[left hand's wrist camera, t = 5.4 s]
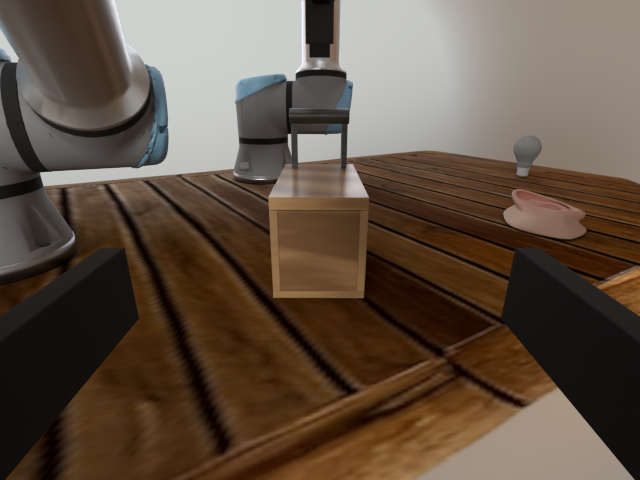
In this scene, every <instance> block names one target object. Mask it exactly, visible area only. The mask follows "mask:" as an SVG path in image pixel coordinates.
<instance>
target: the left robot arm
mask: <svg viewBox="0 0 640 480" xmlns="http://www.w3.org/2000/svg"><path fill="white" fill-rule="evenodd" d="M0 29H1V31H2V32H3V34H4V35H5V37H6V38H7V40H8V42H9V43H10V45H11V46H12V48H13V49H14V51H15V53H16V54H17V56H18V57H19V60H18V63H11V58H10V57H9V56H8V55H7V53H6V52H5V51H4V50H3V49H1V48H0V284H2V283H6V282H10V281H14V280H18V279H21V278H25V277H28V276H31V275H34V274H37V273H40V272H42V271H45V270H48V269H50V268H52V267H54V266H56V265H58V264H60V263H62V262H64V261H65V260H67V259H68V258H70V257H71V256H72V255H73V254H74V253H75V252H76V250H77V244H76V240H75V236H74V233H73V231H72V230H71V229H70V227H69V226H68V224H67V223H66V222H65V220H64V219H63V217H62V216H61V214H60V213H59V212H58V210H57V209H56V207H55V206H54V204H53V203H52V202H51V200H50V199H49V197H48V196H47V194H46V192H45V190H44V186H43V183H42V180H41V176H40V172H52V171H64V170H83V169H101V168H120V167H132V168H139V167H142V166H147V165H156V164H159V163H161V162H162V161H163V160H164V159H165V158H166V155H167V151H168V129H167V126H168V113H167V102H166V93H165V88H164V82H163V78H162V75H161V73H160V71H159V70H157V69H156V68H155V67H150V66H148V65H144V62H143V61H142V59H141V58H140V56H139V55H138V54H137V53H136V52H135V51H134V50H133V49H132V48H131V47H130V46H129V45H128V44H126V43H125V41H124V37H123V33H122V29H121V25H120V21H119V17H118V13H117V9H116V5H115V1H114V0H0ZM138 319H139V317H138V312H137V307H136V302H135V297H134V292H133V287H132V283H131V278H130V273H129V268H128V263H127V258H126V253H125V248H101V249H99V250H98V251H96V252H95V253H93V254H92V255H90V256H89V257H87V258H86V259H84V260H83V261H82V262H80V263H79V264H77V265H76V266H74V267H73V268H71V269H70V270H68V271H67V272H65V273H64V274H62V275H61V276H59V277H58V278H56V279H55V280H54V281H52V282H51V283H49V284H48V285H46V286H45V287H43V288H42V289H40V290H39V291H37V292H36V293H34V294H33V295H31V296H30V297H28V298H27V299H26V300H24V301H23V302H21V303H20V304H18V305H17V306H15V307H14V308H12V309H11V310H9V311H8V312H6V313H5V314H3V315H2V316H0V480H5V479H6V478H7V477H8V476H9V475H10V473H11V472H12V471H13V470H14V469H15V467H16V466H17V465H18V464H19V463H20V461H21V460H22V459H23V458H24V456H25V455H26V454H27V453H28V452H29V450H30V449H31V448H32V447H33V446H34V444H35V443H36V442H37V441H38V440H39V438H40V437H41V436H42V435H43V434H44V432H45V431H46V430H47V429H48V427H49V426H50V425H51V424H52V423H53V421H54V420H55V419H56V418H57V417H58V415H59V414H60V413H61V412H62V411H63V409H64V408H65V407H66V406H67V405H68V403H69V402H70V401H71V400H72V399H73V397H74V396H75V395H76V394H77V392H78V391H79V390H80V389H81V388H82V386H83V385H84V384H85V383H86V382H87V380H88V379H89V378H90V377H91V376H92V374H93V373H94V372H95V371H96V370H97V368H98V367H99V366H100V365H101V363H102V362H103V361H104V360H105V359H106V357H107V356H108V355H109V354H110V353H111V351H112V350H113V349H114V348H115V347H116V345H117V344H118V343H119V342H120V341H121V339H122V338H123V337H124V336H125V335H126V333H127V332H128V331H129V330H130V328H131V327H132V326H133V325H134V324H135V322H136V321H137V320H138ZM501 319H502V320H503V321H504V322H505V324H506V325H507V326H508V327H509V328H510V330H511V331H512V332H513V333H514V335H515V336H516V337H517V338H518V339H519V341H520V342H521V343H522V344H523V345H524V347H525V348H526V349H527V350H528V351H529V353H530V354H531V355H532V356H533V357H534V359H535V360H536V361H537V362H538V363H539V365H540V366H541V367H542V368H543V370H544V371H545V372H546V373H547V374H548V376H549V377H550V378H551V379H552V380H553V382H554V383H555V384H556V385H557V386H558V388H559V389H560V390H561V391H562V392H563V394H564V395H565V396H566V397H567V399H568V400H569V401H570V402H571V403H572V405H573V406H574V407H575V408H576V409H577V411H578V412H579V413H580V414H581V415H582V417H583V418H584V419H585V420H586V421H587V423H588V424H589V425H590V426H591V427H592V429H593V430H594V431H595V432H596V434H597V435H598V436H599V437H600V438H601V440H602V441H603V442H604V443H605V444H606V446H607V447H608V448H609V449H610V450H611V452H612V453H613V454H614V455H615V456H616V458H617V459H618V460H619V461H620V462H621V464H622V465H623V466H624V467H625V469H626V470H627V471H628V472H629V473H630V475H631V476H632V477H633V478H634V479H635V480H640V316H638V315H637V314H635V313H634V312H632V311H631V310H629V309H628V308H626V307H625V306H623V305H622V304H620V303H619V302H617V301H616V300H614V299H613V298H612V297H610V296H609V295H607V294H606V293H604V292H603V291H601V290H600V289H598V288H597V287H595V286H594V285H592V284H591V283H589V282H588V281H586V280H585V279H584V278H582V277H581V276H579V275H578V274H576V273H575V272H573V271H572V270H570V269H569V268H567V267H566V266H564V265H563V264H561V263H560V262H558V261H557V260H556V259H554V258H553V257H551V256H550V255H548V254H547V253H545V252H544V251H542V250H541V249H539V248H515V253H514V258H513V263H512V268H511V273H510V278H509V283H508V287H507V292H506V297H505V302H504V307H503V312H502V317H501Z"/></svg>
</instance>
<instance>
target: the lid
mask: <svg viewBox="0 0 640 480" xmlns="http://www.w3.org/2000/svg"><path fill="white" fill-rule="evenodd" d="M289 121H290V124H291V142H292V164H285V166H284V168H283V170H282V172H281V174H280V176H279V178H278V180H277V182H276V184H275V186H274V188H273V190H272V192H271V193H270V195H269V197H268V200H269V210H369V196H368V194H367V192H366V190H365V188H364V186H363V184H362V182H361V180H360V178H359V176H358V174H357V172H356V170H355V168H354V166H353V164H346V160H347V125H348V124H349V109H297V108H290V109H289ZM297 124H342V126H341V164H298V149H297V148H298V147H297Z"/></svg>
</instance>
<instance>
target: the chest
mask: <svg viewBox="0 0 640 480" xmlns="http://www.w3.org/2000/svg"><path fill="white" fill-rule="evenodd" d="M368 213H369V211H368V210H269V219H270V239H271V260H272V280H273V297H274V298H364V289H365V270H366V251H367V232H368Z"/></svg>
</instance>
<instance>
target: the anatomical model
mask: <svg viewBox="0 0 640 480" xmlns="http://www.w3.org/2000/svg"><path fill="white" fill-rule="evenodd" d="M512 199H513V201H514V203H515V204H514V205H513V206H511V207H510V208H508V209H506V210H505V211H504V214H503V215H504V219H505V221H506V222H507V223H508V224H509V225H510V226H512V227H514V228H517V229H519V230H522V231H526V232H530V233H534V234H538V235H542V236H547V237H552V238H558V239H574V238H577V237H580V236H582V235H583V234H585V233H586V229H585V228H584V227H583V226H582V225H581V224H580V223H579V221H580V220H581V219H583V218H584V217H585V212H584V211H582V210H579V209H577V208H574V207H572V206H569V205H567V204H565V203H562V202H560V201H557V200H554V199H551V198H548V197H545V196H542V195H539V194H536V193H533V192H529V191H525V190H520V189H517V190H514V191H513V192H512Z"/></svg>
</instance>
